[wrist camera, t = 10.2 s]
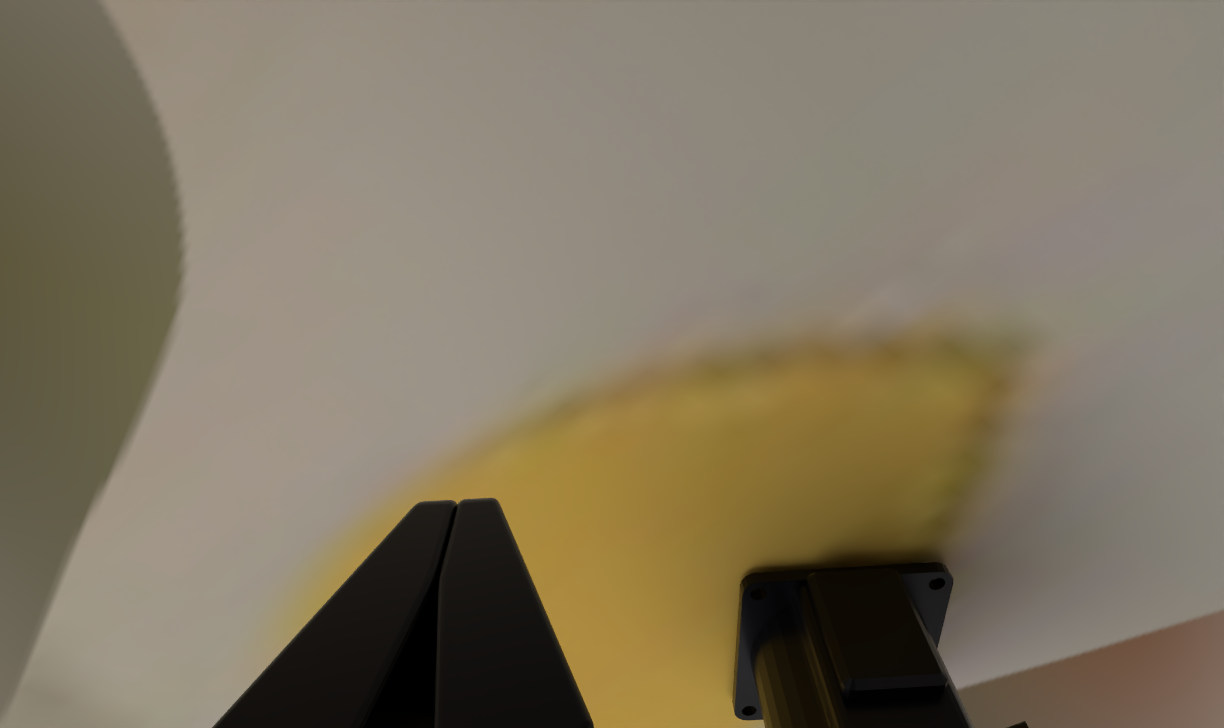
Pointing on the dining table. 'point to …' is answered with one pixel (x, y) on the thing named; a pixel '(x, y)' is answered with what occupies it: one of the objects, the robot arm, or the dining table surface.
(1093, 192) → the dining table surface
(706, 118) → the dining table surface
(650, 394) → the dining table surface
